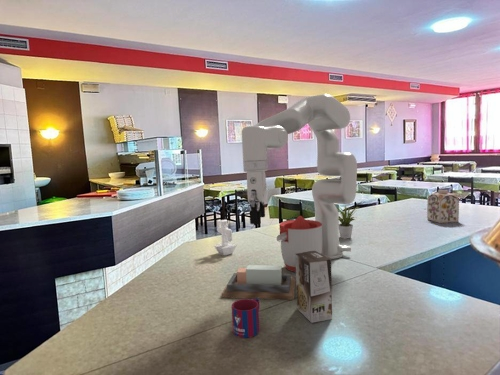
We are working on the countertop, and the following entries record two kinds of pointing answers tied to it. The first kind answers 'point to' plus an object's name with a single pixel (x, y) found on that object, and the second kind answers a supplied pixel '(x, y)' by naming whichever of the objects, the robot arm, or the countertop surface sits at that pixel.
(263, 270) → the white bar
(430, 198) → the decorative jar
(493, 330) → the countertop surface
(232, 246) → the figurine
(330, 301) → the coffee box
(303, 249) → the citrus juicer
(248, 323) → the mug
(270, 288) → the jig
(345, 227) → the house plant
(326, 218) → the robot arm
